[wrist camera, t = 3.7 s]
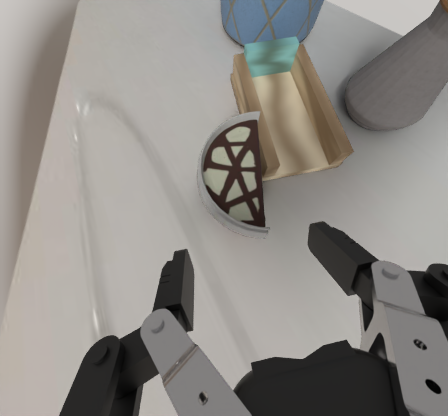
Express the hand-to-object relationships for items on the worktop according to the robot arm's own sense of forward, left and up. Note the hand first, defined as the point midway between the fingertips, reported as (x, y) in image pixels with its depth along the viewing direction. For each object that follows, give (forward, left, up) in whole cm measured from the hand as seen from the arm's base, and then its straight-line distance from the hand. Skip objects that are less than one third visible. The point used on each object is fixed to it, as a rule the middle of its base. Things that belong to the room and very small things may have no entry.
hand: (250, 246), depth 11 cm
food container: (0, -7, -12) cm, 14 cm away
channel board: (-11, -19, -12) cm, 25 cm away
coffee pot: (-31, -19, -12) cm, 38 cm away
